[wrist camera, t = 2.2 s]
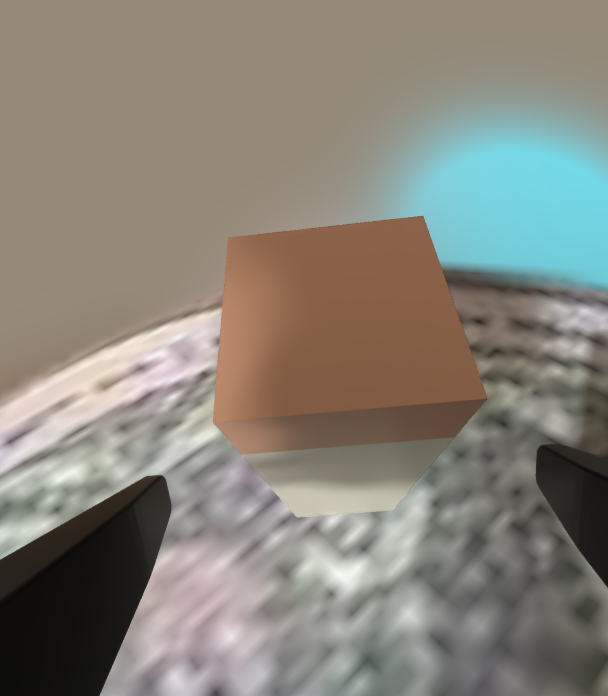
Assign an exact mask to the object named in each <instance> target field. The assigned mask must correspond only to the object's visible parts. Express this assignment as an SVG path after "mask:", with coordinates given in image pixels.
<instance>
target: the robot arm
mask: <svg viewBox="0 0 608 696" xmlns="http://www.w3.org/2000/svg"><path fill="white" fill-rule="evenodd" d="M536 482H537V485H538V487H539V489H540V490H541V492H542V493H543V495H544V497H545V498H546V500H547V501H548V503H549V504H550V506H551V508H552V509H553V511H554V512H555V514H556V515H557V517H558V519H559V520H560V522H561V523H562V525H563V527H564V528H565V530H566V531H567V533H568V534H569V536H570V538H571V539H572V541H573V542H574V544H575V545H576V546H577V548H578V549H579V551H580V552H581V553H582V555H583V556H584V557H585V559H586V560H587V561H588V563H589V564H590V565H591V567H592V568H593V569H594V571H595V572H596V573H597V574H598V576H599V577H600V578H601V580H602V581H603V582H604V584H605V585H606V586H607V587H608V459H606V458H603V457H600V456H596V455H593V454H590V453H587V452H584V451H580V450H577V449H574V448H571V447H568V446H564V445H561V444H546V445H541V446H539V447H538V449H537V459H536ZM170 514H171V500H170V496H169V491H168V487H167V482H166V479H165V477H164V476H162V475H154V476H146V477H144V478H142V479H141V480H139V481H137V482H135V483H134V484H132V485H130V486H128V487H127V488H125V489H123V490H121V491H120V492H118V493H116V494H114V495H113V496H111V497H109V498H107V499H106V500H104V501H102V502H100V503H99V504H97V505H95V506H93V507H92V508H90V509H88V510H86V511H85V512H83V513H81V514H79V515H78V516H76V517H74V518H72V519H71V520H69V521H67V522H65V523H64V524H62V525H60V526H58V527H57V528H55V529H53V530H51V531H50V532H48V533H46V534H44V535H43V536H41V537H39V538H37V539H36V540H34V541H32V542H30V543H29V544H27V545H25V546H23V547H22V548H20V549H18V550H16V551H15V552H13V553H11V554H9V555H8V556H6V557H4V558H2V559H1V560H0V696H100V693H101V691H102V689H103V686H104V684H105V682H106V679H107V677H108V675H109V672H110V670H111V668H112V665H113V663H114V661H115V658H116V656H117V654H118V651H119V649H120V647H121V644H122V642H123V640H124V638H125V635H126V633H127V631H128V628H129V626H130V624H131V621H132V619H133V617H134V614H135V612H136V610H137V607H138V605H139V603H140V600H141V598H142V596H143V593H144V591H145V589H146V586H147V584H148V581H149V579H150V576H151V574H152V571H153V568H154V565H155V562H156V559H157V556H158V553H159V549H160V546H161V543H162V540H163V537H164V534H165V530H166V527H167V524H168V521H169V518H170Z"/></svg>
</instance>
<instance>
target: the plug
mask: <svg viewBox="0 0 608 696" xmlns="http://www.w3.org/2000/svg"><path fill="white" fill-rule="evenodd" d="M486 400H487V396H486V393H485V390H484V387H483V385H482V382H481V379H480V376H479V373H478V370H477V368H476V365H475V362H474V359H473V356H472V353H471V351H470V348H469V345H468V342H467V339H466V336H465V333H464V331H463V328H462V325H461V322H460V319H459V316H458V314H457V311H456V308H455V305H454V302H453V299H452V297H451V294H450V291H449V288H448V285H447V282H446V279H445V277H444V274H443V271H442V268H441V265H440V262H439V260H438V257H437V254H436V251H435V248H434V246H433V243H432V240H431V237H430V234H429V231H428V228H427V225H426V223H425V220H424V217H423V216H417V217H409V218H400V219H391V220H382V221H373V222H364V223H355V224H347V225H337V226H328V227H319V228H310V229H302V230H293V231H284V232H275V233H266V234H258V235H248V236H240V237H230V238H228V245H227V257H226V271H225V282H224V294H223V306H222V318H221V330H220V342H219V354H218V366H217V379H216V391H215V403H214V415H213V423H214V424H215V425H216V426H217V428H218V429H219V430H220V431H221V432H222V433H223V434H224V435H225V437H226V438H227V439H228V440H229V441H230V442H231V443H232V444H233V446H234V447H235V448H236V449H237V450H238V451H239V452H240V453H241V455H242V456H243V457H244V458H245V459H246V460H247V461H248V463H249V464H250V465H251V466H252V467H253V468H254V469H255V470H256V472H257V473H258V474H259V475H260V476H261V477H262V478H263V479H264V481H265V482H266V483H267V484H268V485H269V486H270V487H271V488H272V490H273V491H274V492H275V493H276V494H277V495H278V496H279V498H280V499H281V500H282V501H283V502H284V503H285V504H286V505H287V507H288V508H289V509H290V510H291V511H292V512H293V513H294V514H295V516H296V517H309V516H323V515H337V514H351V513H365V512H378V511H392V510H393V509H394V508H395V507H396V506H397V505H398V504H399V502H400V501H401V500H402V499H403V498H404V496H405V495H406V494H407V493H408V492H409V491H410V489H411V488H412V487H413V486H414V485H415V483H416V482H417V481H418V480H419V479H420V478H421V476H422V475H423V474H424V473H425V472H426V470H427V469H428V468H429V467H430V466H431V465H432V463H433V462H434V461H435V460H436V459H437V457H438V456H439V455H440V454H441V453H442V452H443V450H444V449H445V448H446V447H447V446H448V445H449V443H450V442H451V441H452V440H453V439H454V437H455V436H456V435H457V434H458V433H459V432H460V430H461V429H462V428H463V427H464V426H465V424H466V423H467V422H468V421H469V420H470V419H471V417H472V416H473V415H474V414H475V413H476V411H477V410H478V409H479V408H480V407H481V406H482V404H483V403H484V402H485V401H486Z"/></svg>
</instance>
